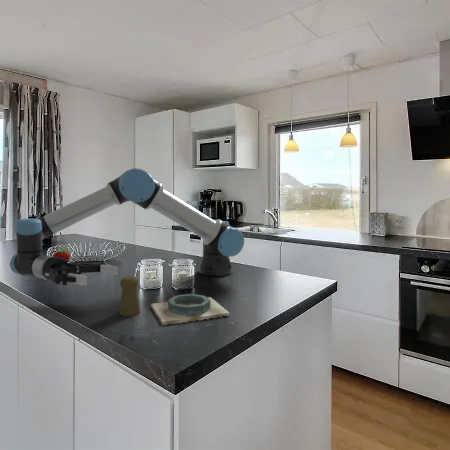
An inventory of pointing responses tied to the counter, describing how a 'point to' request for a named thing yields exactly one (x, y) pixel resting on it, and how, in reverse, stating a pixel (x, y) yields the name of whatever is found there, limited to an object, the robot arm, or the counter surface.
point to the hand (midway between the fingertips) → (102, 275)
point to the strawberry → (63, 255)
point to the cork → (129, 297)
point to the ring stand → (188, 309)
